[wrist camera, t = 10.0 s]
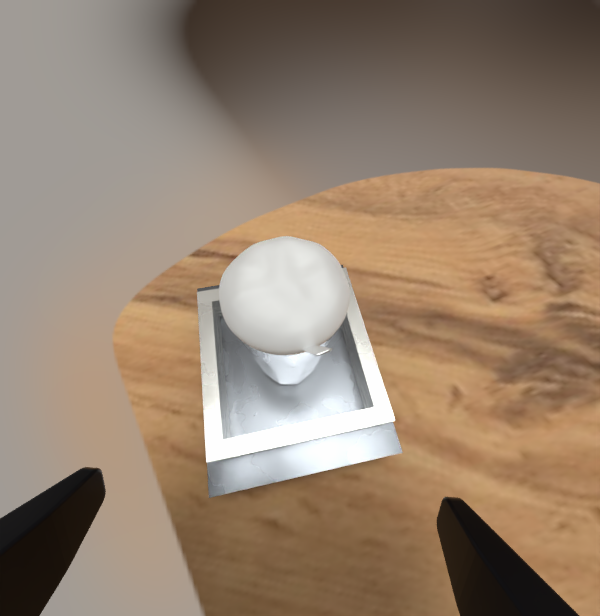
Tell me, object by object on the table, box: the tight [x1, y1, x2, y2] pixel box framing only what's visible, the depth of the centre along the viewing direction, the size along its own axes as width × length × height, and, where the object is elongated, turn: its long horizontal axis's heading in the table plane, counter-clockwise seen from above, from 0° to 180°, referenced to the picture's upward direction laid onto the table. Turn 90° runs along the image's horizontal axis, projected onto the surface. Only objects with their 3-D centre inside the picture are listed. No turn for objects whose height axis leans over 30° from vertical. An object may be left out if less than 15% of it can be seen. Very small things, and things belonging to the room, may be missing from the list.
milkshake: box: [219, 236, 350, 385], centre depth 13 cm, size 4×5×10 cm
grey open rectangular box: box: [197, 265, 403, 498], centre depth 18 cm, size 12×10×5 cm
